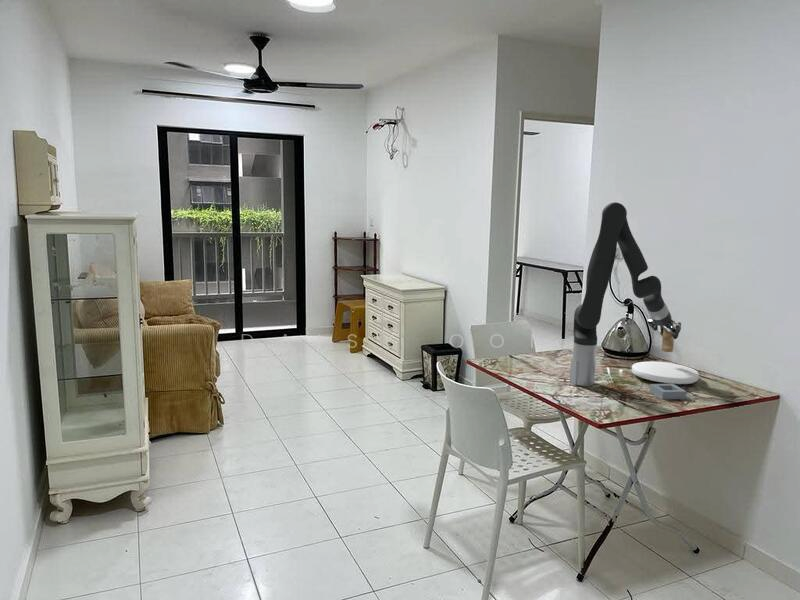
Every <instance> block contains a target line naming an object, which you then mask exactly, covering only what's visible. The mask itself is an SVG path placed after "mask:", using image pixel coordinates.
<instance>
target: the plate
mask: <svg viewBox="0 0 800 600" xmlns="http://www.w3.org/2000/svg"><path fill="white" fill-rule="evenodd" d="M631 372H632V373H633V374H634V375H635V376H637V377H639V378H641V379H644V380H645V379H646V380H648V381H651V382H658V383H662V384H674V385H688V384H689V385H690V384H694V383H695V382H697V381H698V380H699V378H700V374H699V373H700V372H699V371H698V370H695V369H694V368H691V367H690V366H685V365H682V364H678V363H673V362H667V361H666V362H665V361H653V360H652V361H640V362H635V363H633V364H632V365H631Z"/></svg>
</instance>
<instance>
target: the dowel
mask: <svg viewBox="0 0 800 600" xmlns="http://www.w3.org/2000/svg"><path fill="white" fill-rule="evenodd" d="M673 321H674V323H676V321H675V320H673ZM674 327H675V326H674ZM674 340H675V339H674V337H673V336H672V333H671V332H669V331H668V330H667V329H665V328H663V337H662V340H661V341H662V342H661V352H664V353H665V352H666V353H673V352H674V342H675V341H674Z"/></svg>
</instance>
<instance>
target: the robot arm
mask: <svg viewBox="0 0 800 600" xmlns="http://www.w3.org/2000/svg"><path fill="white" fill-rule="evenodd" d="M627 211H628V210H627V208H626V206H624V205H623V204H622V203H619V202H617V201H616V202H610V203H608V204H606V205H605V206H604V208H603V209H602V211H601V212H602V213H601V222H600V229H599V233H598V237H597V240H596V242H595V245H594V247H593V250H592V253H591V255H590V258H589V261H588V265H587V266H588V267H587V272H586V281H585V282H586V284H585V285H586V286H585V287H586V288H585V294H584V298H583V301H582V303H581V304H580V305H579V306H578V305H577V307H576V309H575V310H574V315H573V331H572V332H573V347H572V349H573V351H572V358H571V359H570V367H569V381H570V382H571V383H572V384H573V385H575V386H581V387H591V386H594V385H595V381H596V380H595V379H596V366H597V349H598V335H597V327H598V324H599V323H600V321H601V316H602V309H603V303H604V297H605V295H606V292H607V289H608V285H609V282H610V279H611V277H612V272H613V269H614V264H615V259H616V254H617V249H618V248H617V246H618V247H619V250H620V253H621V255H622V258H623V260H624V262H625V265H626V267H627V270H628V272H629V274H630V278H631V286H632V292H633V295H634V296H635V297H636V298H638V299H642V300H643V304H644V306H645V308H646V311H647V314H648V316H649V318H648V319H647V322H646V323H647V325H649V327H650V328H651V329H652V330H653V331H655V332H656V331H657V332H658V333H659V334H660V335H661V337H662V338H663V328H665V329H667V330H668V331H669V332H671V333H672V336H673V337H674V340H677V339H678V337H679V335H680V332H681V330H682V322H680V321H679V322H675V323H674V321H675V320H673V319H672V315H671V312H670V310H669V308H668V305H667V304H666V302H665V300H664V299H663V297H662V296H663V295H662V282H661V280H660V278H659V277H658V276H655V275H649V276H646V277H645V278H641V279H639V277H640V275H641V274H643V273H645V272H647V271H648V270H649V266H648V264H647V261H646V259H645V257H644V254H643V253H642V250H641V248H640V246H639V245H638V242H637V241H636V239H635V238H634V236H633V233H632V232H631V229H630V225H629V221H628V217H627V215H628V212H627ZM674 326H675V327H674Z"/></svg>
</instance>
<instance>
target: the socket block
mask: <svg viewBox="0 0 800 600" xmlns="http://www.w3.org/2000/svg"><path fill="white" fill-rule="evenodd" d="M649 392H650V393H652V394H653V395H654V394H655V396H656V397H658V398H659V397H660V398H659V399H661V400H686V399H687V390H685V389H683V388H681V387H679V386H678V385H677V384H671V383H651V384H649ZM685 398H686V399H685Z"/></svg>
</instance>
